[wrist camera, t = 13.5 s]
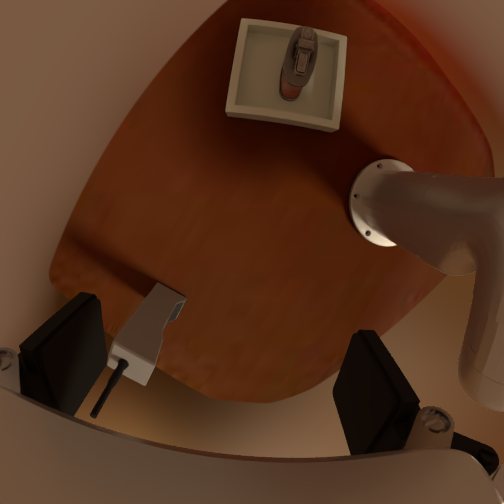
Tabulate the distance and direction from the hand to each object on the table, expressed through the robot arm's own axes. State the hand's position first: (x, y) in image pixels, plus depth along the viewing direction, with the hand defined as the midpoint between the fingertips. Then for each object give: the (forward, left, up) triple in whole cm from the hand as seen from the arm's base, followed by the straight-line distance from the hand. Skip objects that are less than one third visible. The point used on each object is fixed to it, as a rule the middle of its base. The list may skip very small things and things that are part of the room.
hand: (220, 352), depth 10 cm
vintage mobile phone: (+10, +14, -31) cm, 35 cm away
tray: (-3, -20, -30) cm, 36 cm away
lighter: (-4, -20, -30) cm, 36 cm away
